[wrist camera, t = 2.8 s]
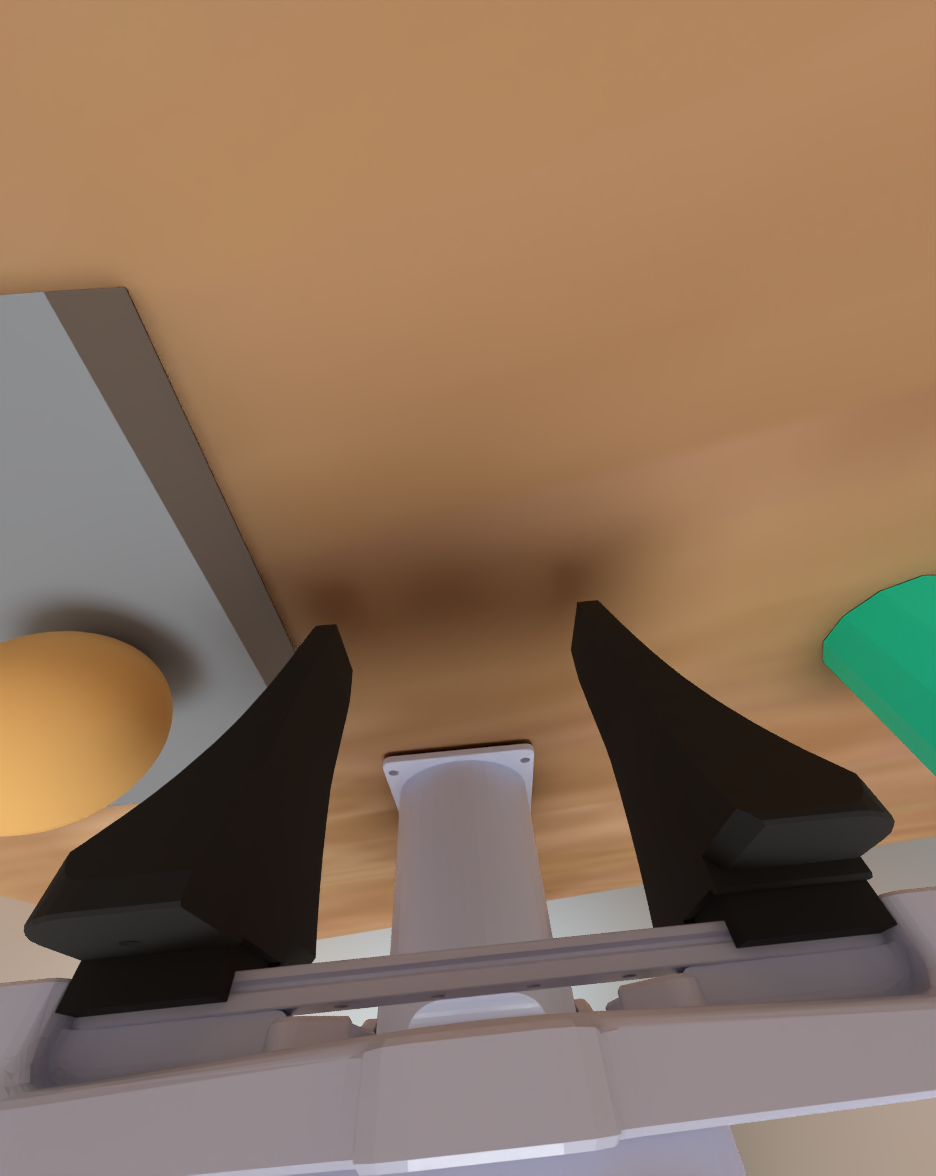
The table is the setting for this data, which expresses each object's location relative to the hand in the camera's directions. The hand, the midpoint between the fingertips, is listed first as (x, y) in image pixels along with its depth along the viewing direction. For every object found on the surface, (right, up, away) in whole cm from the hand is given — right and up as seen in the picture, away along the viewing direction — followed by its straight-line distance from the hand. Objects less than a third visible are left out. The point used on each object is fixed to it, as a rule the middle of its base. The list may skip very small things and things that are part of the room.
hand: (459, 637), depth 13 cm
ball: (-11, -2, -2) cm, 11 cm away
